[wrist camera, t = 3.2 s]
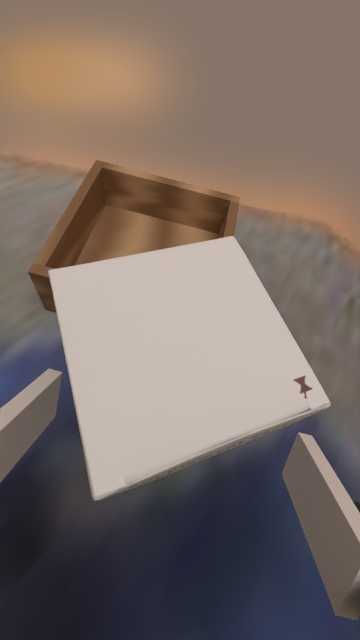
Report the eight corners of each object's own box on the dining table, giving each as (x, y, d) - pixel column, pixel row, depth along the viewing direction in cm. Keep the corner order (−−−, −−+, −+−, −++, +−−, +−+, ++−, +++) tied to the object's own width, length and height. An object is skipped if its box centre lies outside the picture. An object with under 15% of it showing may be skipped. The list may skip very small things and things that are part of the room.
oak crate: (45, 309, 30) (27, 272, 25) (101, 204, 38) (96, 159, 33) (205, 349, 30) (220, 320, 25) (225, 236, 39) (239, 197, 34)
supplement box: (187, 356, 30) (240, 229, 15) (225, 451, 26) (346, 402, 11) (89, 385, 27) (39, 263, 12) (115, 496, 23) (86, 509, 8)
